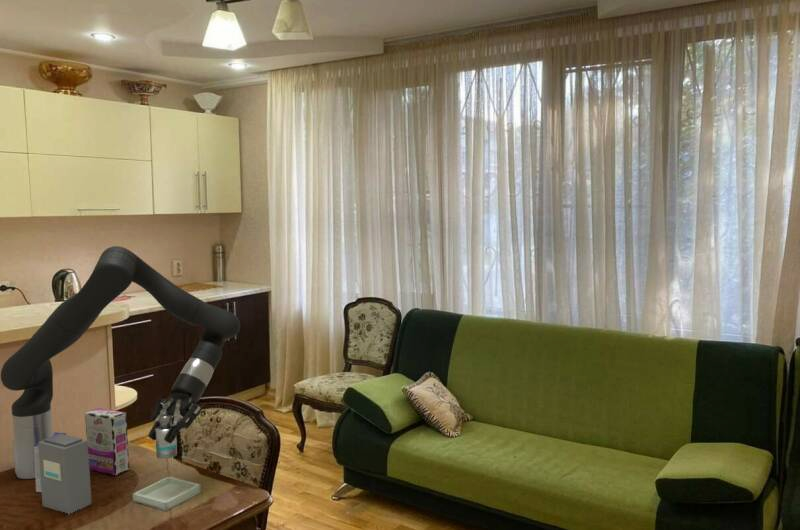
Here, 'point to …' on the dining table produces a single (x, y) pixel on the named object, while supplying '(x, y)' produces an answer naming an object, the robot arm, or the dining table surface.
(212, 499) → the dining table surface
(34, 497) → the dining table surface
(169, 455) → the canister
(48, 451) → the gray storage container
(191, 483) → the tray
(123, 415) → the candy bar box
